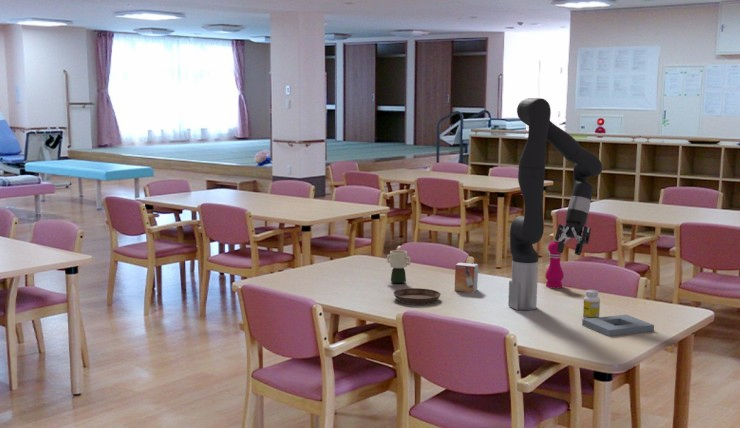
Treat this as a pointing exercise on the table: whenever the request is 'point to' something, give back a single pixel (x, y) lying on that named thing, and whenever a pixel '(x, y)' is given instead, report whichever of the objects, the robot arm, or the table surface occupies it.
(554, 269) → the pepper mill
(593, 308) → the supplement bottle
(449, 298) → the table surface
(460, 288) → the small box
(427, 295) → the plant saucer
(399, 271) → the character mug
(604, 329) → the hole board
